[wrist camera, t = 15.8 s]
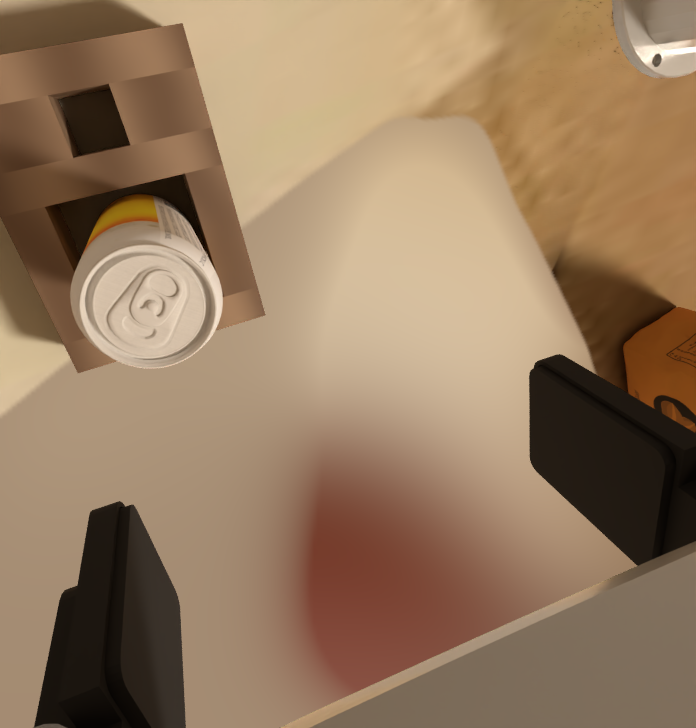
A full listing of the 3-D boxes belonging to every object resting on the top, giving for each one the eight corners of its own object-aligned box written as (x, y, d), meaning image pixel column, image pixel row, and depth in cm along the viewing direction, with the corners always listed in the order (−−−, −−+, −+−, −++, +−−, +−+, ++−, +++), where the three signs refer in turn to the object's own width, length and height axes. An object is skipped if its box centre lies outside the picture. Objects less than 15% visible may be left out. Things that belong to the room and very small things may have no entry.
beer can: (76, 256, 33) (38, 338, 20) (123, 172, 32) (113, 202, 19) (166, 302, 36) (182, 398, 23) (211, 226, 35) (253, 283, 22)
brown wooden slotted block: (177, 34, 31) (182, 23, 27) (254, 298, 38) (265, 315, 35) (-48, 74, 28) (-74, 67, 24) (83, 349, 36) (78, 373, 32)
